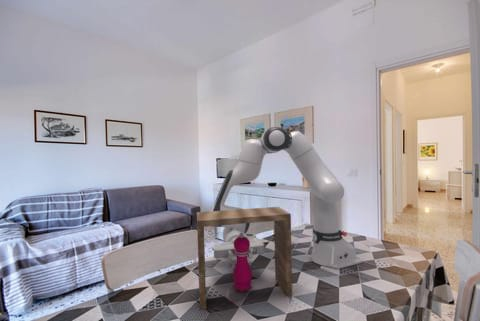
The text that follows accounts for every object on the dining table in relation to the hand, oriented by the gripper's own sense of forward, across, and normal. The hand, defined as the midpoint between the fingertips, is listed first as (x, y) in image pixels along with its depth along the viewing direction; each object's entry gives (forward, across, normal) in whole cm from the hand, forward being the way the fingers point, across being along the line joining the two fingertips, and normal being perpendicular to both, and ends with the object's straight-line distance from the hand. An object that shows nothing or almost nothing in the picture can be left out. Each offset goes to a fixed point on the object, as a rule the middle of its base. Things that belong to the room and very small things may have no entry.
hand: (242, 257), depth 88 cm
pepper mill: (-1, 0, +12) cm, 12 cm away
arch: (+1, 0, +12) cm, 12 cm away
